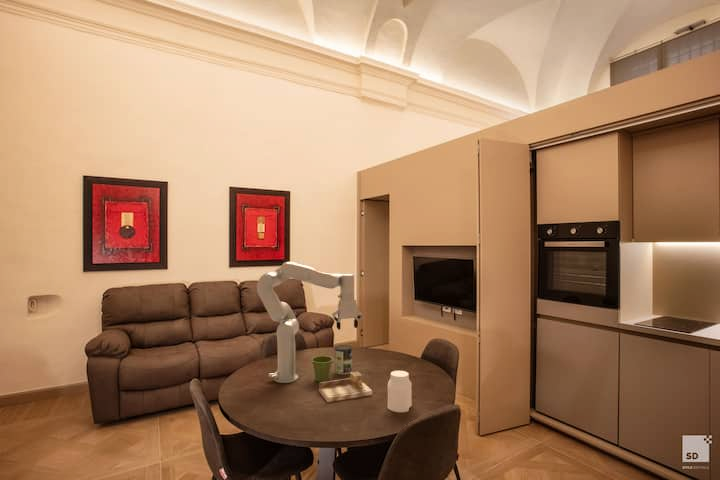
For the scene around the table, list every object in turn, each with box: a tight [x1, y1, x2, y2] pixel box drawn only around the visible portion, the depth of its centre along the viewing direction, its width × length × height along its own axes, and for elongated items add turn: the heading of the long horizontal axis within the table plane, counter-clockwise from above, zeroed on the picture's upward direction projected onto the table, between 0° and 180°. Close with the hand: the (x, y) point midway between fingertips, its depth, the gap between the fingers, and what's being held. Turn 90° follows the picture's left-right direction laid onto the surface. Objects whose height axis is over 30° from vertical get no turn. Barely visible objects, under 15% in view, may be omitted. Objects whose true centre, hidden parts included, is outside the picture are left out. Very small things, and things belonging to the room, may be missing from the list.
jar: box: [387, 370, 413, 413], centre depth 167 cm, size 12×10×15 cm
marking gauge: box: [349, 371, 363, 390], centre depth 185 cm, size 4×11×6 cm, turn 22°
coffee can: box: [334, 344, 353, 375], centre depth 214 cm, size 10×10×14 cm
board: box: [318, 376, 373, 403], centre depth 183 cm, size 23×14×4 cm, turn 112°
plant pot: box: [311, 355, 334, 382], centre depth 201 cm, size 12×12×11 cm
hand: (347, 328), depth 200 cm, fingers open, 9 cm apart
